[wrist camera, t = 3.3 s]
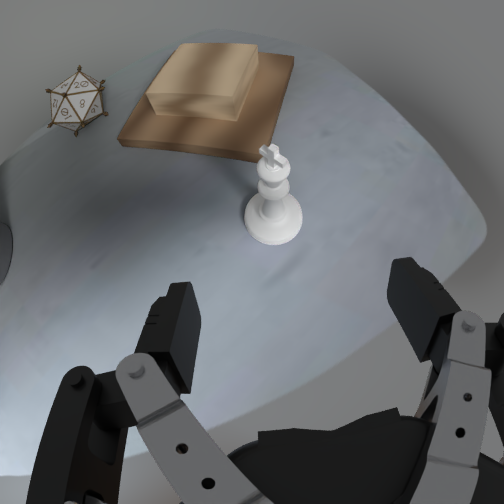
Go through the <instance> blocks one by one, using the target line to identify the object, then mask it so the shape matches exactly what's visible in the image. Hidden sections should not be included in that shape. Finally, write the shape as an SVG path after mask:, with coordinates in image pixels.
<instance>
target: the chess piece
mask: <svg viewBox="0 0 504 504" xmlns="http://www.w3.org/2000/svg"><path fill="white" fill-rule="evenodd" d="M259 153H260V154H261V155H263V157H262V158H261V159H260V160H259V161H258V163H257V173H258V175H259V177H260V180H259V182H258V191H259V193H257V194H256V195H254V196H253V197H252V198H251V199H250V201H249V202H248V204H247V206H246V209H245V215H244V221H245V226H246V228H247V230H248V232H249V233H250V235H251V236H252V237H253V238H255V239H256V240H257V241H259V242H261V243H264V244H268V245H279V244H283V243H286V242H288V241H290V240H291V239H293V238H294V237H295V236H296V235H297V233H298V232H299V230H300V228H301V225H302V210H301V207H300V205H299V203H298V201H297V200H296V199H295V198H294V197H293V196H292V195H291V194H289V193H288V192H289V182H288V180H287V177H288V175H289V173H290V164H289V162H288V159H286V158H285V157H283V156H281V155H280V154H279V147H278V146H276V145H275V144H273V143H272V144H271V145H270V146H269V147H267V146H266V145H263V146H262V147H261V148H260V149H259Z"/></svg>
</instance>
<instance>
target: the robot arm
mask: <svg viewBox="0 0 504 504" xmlns="http://www.w3.org/2000/svg"><path fill="white" fill-rule="evenodd" d="M11 254H12V236H11V231H10V229H9V227H8V226H7V225H6V224H4V223H2V222H0V285H1V283H2V282H3V280H4V278H5V276H6V274H7V271H8V268H9V264H10V260H11ZM387 299H388V303H389V305H390V307H391V309H392V311H393V312H394V314H395V316H396V318H397V320H398V321H399V323H400V325H401V327H402V329H403V330H404V332H405V334H406V336H407V338H408V340H409V342H410V344H411V345H412V347H413V350H414V351H415V353H416V355H417V357H418V359H419V361H420V362H424V361H427V360H431V361H432V365H431V367H430V370H429V374H428V377H427V381H426V385H425V388H424V392H423V395H422V398H421V402H420V404H419V407H418V409H417V412H416V413H415V415H414V417H412V416H400V414H399V411H398V408H397V407H396V408H393V409H389V410H385V411H382V412H378V413H374V414H370V415H366V416H364V417H362V418H360V419H358V420H356V421H354V422H351V423H349V424H347V425H345V426H343V427H340V428H338V429H336V430H332V431H325V430H324V431H323V430H309V429H297V428H292V429H282V430H272V431H259V432H258V440H257V441H253V442H250V443H248V444H245V445H243V446H241V447H239V448H237V449H236V450H234V451H233V452H231V453H230V454H228V455H227V456H226V455H225V454H224V452H223V451H222V450H221V449H220V448H219V447H218V445H217V444H216V443H215V442H214V441H213V439H212V438H211V437H210V436H209V434H208V433H207V432H206V431H205V429H204V428H203V427H202V426H201V424H200V423H199V422H198V420H197V419H196V418H195V416H194V415H193V414H192V413H191V411H190V410H189V408H188V407H187V406H186V404H185V403H184V402H183V401H182V400H181V399H180V395H181V394H190V393H191V386H192V380H193V373H194V366H195V360H196V354H197V348H198V341H199V335H200V329H201V315H200V311H199V307H198V304H197V300H196V297H195V293H194V290H193V286H192V284H191V282H179V283H171V284H170V287H169V289H168V292H167V295H166V296H164V297H159V298H158V299H157V300H156V301H155V303H154V304H153V305H152V306H151V309H150V311H149V314H148V317H147V319H146V322H145V325H144V327H143V330H142V332H141V335H140V338H139V341H138V343H137V346H136V349H135V352H134V354H131V355H129V356H127V357H125V358H124V359H123V360H122V361H121V362H120V363H119V364H118V366H117V369H116V370H115V371H111V372H106V373H102V374H97V375H95V374H94V372H93V371H92V370H91V369H90V368H89V367H87V366H77V367H74V368H72V369H71V370H69V371H68V372H67V373H66V374H65V376H64V377H63V379H62V381H61V384H60V386H59V389H58V392H57V394H56V397H55V400H54V402H53V405H52V408H51V411H50V414H49V416H48V419H47V422H46V426H45V429H44V432H43V435H42V438H41V442H40V445H39V449H38V452H37V456H36V460H35V463H34V467H33V471H32V476H31V480H30V485H29V490H28V495H27V500H26V504H118V495H119V487H120V479H121V471H122V464H123V458H124V451H125V445H126V439H127V433H128V428H129V427H132V426H136V427H137V429H138V432H139V433H140V435H141V437H142V439H143V441H144V443H145V444H146V446H147V448H148V450H149V451H150V453H151V455H152V456H153V458H154V460H155V461H156V463H157V465H158V466H159V468H160V469H161V471H162V473H163V474H164V476H165V477H166V479H167V480H168V481H169V483H170V485H171V486H172V488H173V489H174V490H175V492H176V493H177V495H178V496H179V497H180V499H181V500H182V502H180V503H179V504H504V453H503V457H502V458H501V459H500V461H499V462H497V461H495V460H493V459H492V458H490V457H488V456H486V455H484V454H482V453H481V452H480V449H481V444H482V440H483V435H484V430H485V424H486V418H487V412H488V407H489V409H490V411H491V414H492V416H493V419H494V421H495V424H496V427H497V429H498V432H499V435H500V437H501V440H502V443H503V446H504V313H503V314H502V315H501V317H500V319H499V322H498V323H484V321H483V320H482V318H481V317H480V316H478V315H477V314H476V313H473V312H471V311H462V310H461V309H460V307H459V306H458V305H457V304H456V302H455V301H454V300H453V298H452V297H451V296H450V295H449V293H448V292H447V291H446V290H444V287H443V286H442V285H441V283H439V281H438V280H437V279H436V277H435V276H434V275H433V274H432V273H431V272H429V271H428V270H426V269H424V268H423V267H422V268H421V267H420V266H419V265H418V264H417V263H416V262H415V260H414V259H413V258H412V257H407V258H399V259H394V260H393V262H392V266H391V272H390V277H389V283H388V288H387Z"/></svg>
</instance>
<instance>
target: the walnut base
mask: <svg viewBox="0 0 504 504" xmlns="http://www.w3.org/2000/svg"><path fill="white" fill-rule="evenodd" d="M293 66H294V56H288V55H280V54H272V53H262V52H258V49H257V45H250V44H231V43H190V44H181V45H180V46H179V47H178V49H177V50H176V51H174V52H173V53H172V55H171V56H170V57H169V59H168V60H167V61H166V63H165V64H164V65H163V67H162V68H161V70H160V71H159V72H158V74H157V75H156V77H155V78H154V79H153V81H152V82H151V84H150V85H149V87H148V88H147V90H146V91H145V93H144V94H143V96H142V97H141V99H140V101H139V102H138V104H137V105H136V107H135V109H134V110H133V112H132V113H131V115H130V117H129V118H128V120H127V122H126V124H125V125H124V127H123V129H122V131H121V132H120V134H119V136H118V138H117V140H118V141H119V142H120V144H121V145H122V146H125V147H138V148H150V149H161V150H170V151H179V152H188V153H196V154H203V155H210V156H217V157H224V158H230V159H237V160H243V161H248V162H254V163H258V161H259V160H260V159H261V158H262V157H263V155H261V154H260V153H259V149H260V148H261V147H262V146H263V145H266V146H267V147H269V146H270V143H271V140H272V136H273V133H274V129H275V126H276V123H277V119H278V116H279V112H280V109H281V106H282V102H283V99H284V96H285V92H286V89H287V86H288V82H289V79H290V76H291V72H292V69H293Z"/></svg>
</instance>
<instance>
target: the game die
mask: <svg viewBox="0 0 504 504" xmlns="http://www.w3.org/2000/svg"><path fill="white" fill-rule="evenodd" d="M77 70H78V72H77V73H75V74H74V75H72V76H71V77H69V78H68V79H67V80H65V81H64V82H62V83H61V84H60V85H58V86H57V87H56V88H54V89H53V90H50V89H46V92H48V93H50V96H51V115H52V122H51V123H50V124H48V127H47V128H49V127H51V126H52V125H53V124H56V125H59V126H62V127H65V128H68V129H70V130H73V131H75V133H74V135H75V136H76V137H77V135H78V132H77V131H78V130H79V129H81V128H82V127H83V128H84V126H85V125H86V124H88V123H89V122H91V121H92V120H94V119H95V118H97V117H98V116H100V115H101V114H103V115H105V116H107V115H108V113H107V112H104V111H103V100H102V91H103V90H104V88H105V87H103V86H102V87H101V84H103V83H105V80H102V81H101V82H98V81H97V80H95V79H93V78H91V77H89V76H88V75H86V74H84V73H82V72H81V66H80V65H79V67H78V69H77Z"/></svg>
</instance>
